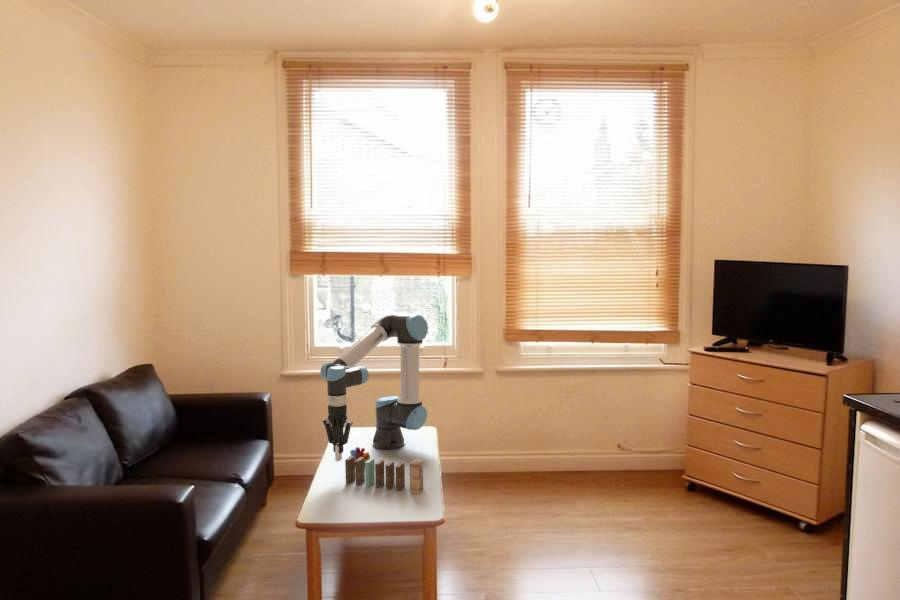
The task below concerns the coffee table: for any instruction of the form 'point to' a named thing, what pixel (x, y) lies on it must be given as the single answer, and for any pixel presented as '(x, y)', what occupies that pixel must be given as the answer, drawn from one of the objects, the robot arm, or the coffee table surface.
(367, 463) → the teal domino
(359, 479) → the domino
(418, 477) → the end block
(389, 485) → the domino
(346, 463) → the domino
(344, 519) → the coffee table surface
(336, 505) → the coffee table surface
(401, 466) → the domino
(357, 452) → the colorful disc cluster
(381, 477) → the domino
